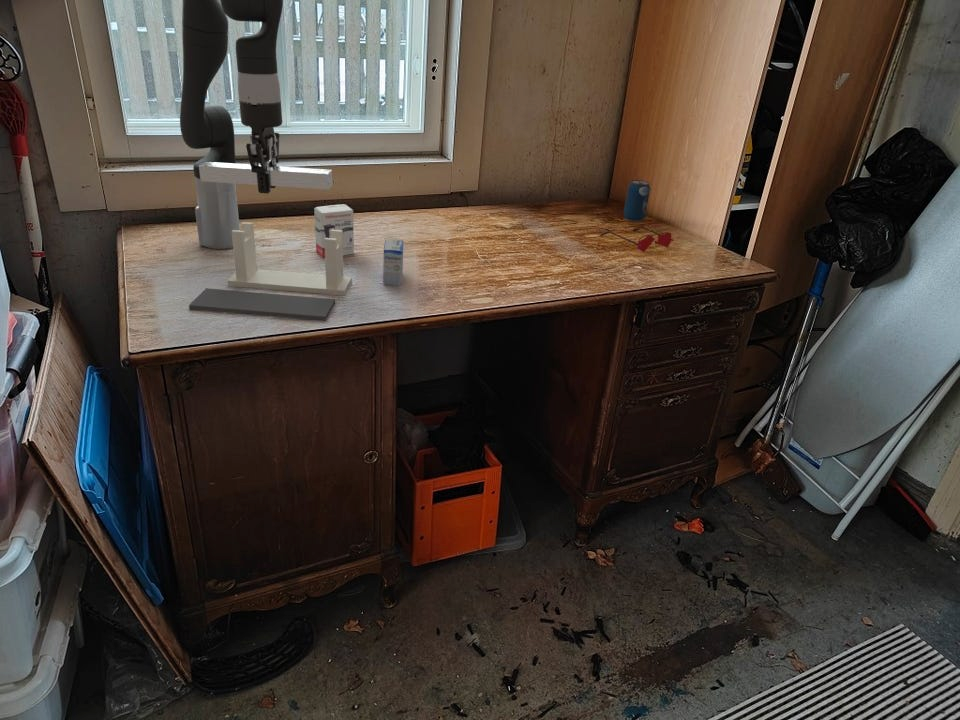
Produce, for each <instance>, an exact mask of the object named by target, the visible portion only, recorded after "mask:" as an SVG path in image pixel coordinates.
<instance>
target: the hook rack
mask: <svg viewBox="0 0 960 720" xmlns="http://www.w3.org/2000/svg"><path fill="white" fill-rule="evenodd" d="M254 227H255V226H254V222H250V221H249V222H247V221H242V222H241V223H240V228H241V229H240V230H232V241H233V248H232V249H233V250H232V251H233V258H234V270H235V271H234V273H233V274H232V275H231V276H230V277H229V279H228V280H227V286H228V287H238V288H239V287H240V288H251V289H262V290H271V291H272V290H276V291H286V292H287V291H288V292H297V293H308V294H309V293H310V294H321V295H322V294H323V295H334V296H345V295H346V294H347V292H348V290H349V289H350V286H351V284H352V283H353V277H352V276H344V255H343V231H342V230H333V229H332V230H331V238H325V239H324V240H325V258H324V261H325V263H324V265H325V274H316V273H306V272H305V273H303V272H296V271H295V272H293V271H282V270H270V269H258V264H257V250H256V239H255V228H254Z"/></svg>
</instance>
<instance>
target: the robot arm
mask: <svg viewBox="0 0 960 720" xmlns="http://www.w3.org/2000/svg"><path fill="white" fill-rule="evenodd" d="M283 6H284V0H182V9H181V31H182V32H181V34H182V35H181V36H182V37H181V38H182V87H181V97H180V111H179V112H180V114H179V125H180V126H179V127H180V132H181V133H180V134H181V137H182V140H183V141H184V143H185V145H186V146H187V147H188V148H190V149H193V150H202V149H209V148H210V149H209V151H208V153H207V154H206V155H205V156H203V157H202V158H201V159H199V160H197V161H196V162H195V163H194V164H193V176H194V183H195V190H196V191H195V192H196V200H197V206H195V208H194V211H195V219H196V221H195V222H196V227H197V236H198V244H199V246H203V247H206V248H209V249H215V250H225V249H233V241H232V230H241V229H240V228H241V226H240V218H239V210H238V209H239V208H238V198H237V188H236V183H220V182H205V181H201V179H200V172H199V165H201V164H203V163H204V162H217V163H233V164H236V148H235V147H236V146H235V144H236V143H235V127H234V122H233V119H232V117H231V114H230V111H228V109H227V108H226V107H224V106H222V105H206V97H207V93H208V90H209V88H210V85H211V83H212V82H213V80H214V79H215V77H216V75H217V73H218V72H219V70H220V69H221V67H222V65H223V64H224V61H225V59H226V57H227V54H228V47H229V44H228V43H229V20H228V18H229V19H231V20H233V21H237V22H250V23H251V22H252V23H261V25H260V29H259V30H258V32H256V33H254V34H250V35H245V36H240V37H238V38H237V39H236V40H235V55H236V68H237V69H236V70H237V91H238V102H239V113H240V121H241V125H244V126H245V127H249V128H250V129H251V134H250V136H249V142H248V143H246V145H245V146H246V147H245V148H246V151H247V157H248V161H249V165H250V166H251V170H252V172H255V173H256V174H257V182H258V185H257V191H258V193H260V194H269V193H271V192H272V191H271V189H275V188H276V187H277V186H270V178H269V166H278V165H277V164H279V161H280V159H279V158H280V155H279V154H280V137H281V135H280V133H279V132H275V128H278V127H280V126H282V124H283V114H282V112H283V109H282V99H281V85H280V81H279V76H278V63H277V61H278V60H277V40H278V33H279V27H280V22H281V18H282V12H283V8H284V7H283ZM227 17H228V18H227ZM205 105H206V106H205ZM259 165H261V166H259Z"/></svg>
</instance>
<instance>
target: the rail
mask: <svg viewBox="0 0 960 720" xmlns="http://www.w3.org/2000/svg"><path fill="white" fill-rule="evenodd" d="M259 166H261V165H260V164H259ZM199 172H200V179H201V181H205V182H220V183H235V185H236V184H238V185H252V186H253V185H254V186H255V185H256V186H258V182H257V174H256V173H255V172H252V170H251V166H250V164H247V163H246V164H245V163H235V164H233V163H217V162H204V163H203V164H201V165H199ZM269 178H270V186H276V187H284V188H285V187H286V188H297V189H298V188H299V189H300V188H301V189H315V190H330V189H331V188H332V186H333V169H324V168H307V167H306V168H305V167H295V166H294V167H293V166H279V165H277V166H269Z"/></svg>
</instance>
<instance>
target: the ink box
mask: <svg viewBox="0 0 960 720" xmlns="http://www.w3.org/2000/svg"><path fill="white" fill-rule="evenodd" d="M313 209H314V232H315V234H314V235H315V249H316V250H315V252H316V254H318V255H319V256H320V257H321V258H323V259H325V240H324V239H325V238H331V230H332V229H333V230H342V231H343V256H348V255H354V254H355V252H354V251H355V247H354V246H355V243H354V240H355V238H354V232H355V231H354V209H352V208H351V207H349V206H348V205H347V204H346V203H345V204H344V203H343V204H334V205H333V204H332V205H331V204H330V205H324V206H316V207H314V208H313Z"/></svg>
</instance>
